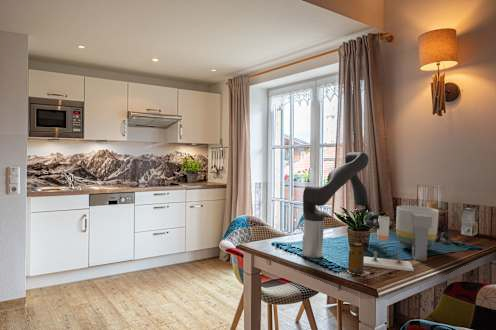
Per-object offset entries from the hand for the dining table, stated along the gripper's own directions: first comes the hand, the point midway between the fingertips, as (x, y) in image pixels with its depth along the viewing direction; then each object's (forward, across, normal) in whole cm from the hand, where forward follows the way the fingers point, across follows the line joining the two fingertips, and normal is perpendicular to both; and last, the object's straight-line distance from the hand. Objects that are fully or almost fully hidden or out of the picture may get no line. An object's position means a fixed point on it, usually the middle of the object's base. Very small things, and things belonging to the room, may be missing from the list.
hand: (385, 227), depth 163 cm
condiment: (+20, -18, +16) cm, 31 cm away
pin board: (+9, -2, +15) cm, 18 cm away
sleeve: (-3, 0, +6) cm, 7 cm away
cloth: (-34, +47, +14) cm, 60 cm away
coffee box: (-57, +75, +13) cm, 95 cm away
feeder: (-2, +18, +14) cm, 23 cm away
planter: (-18, +23, +14) cm, 32 cm away
